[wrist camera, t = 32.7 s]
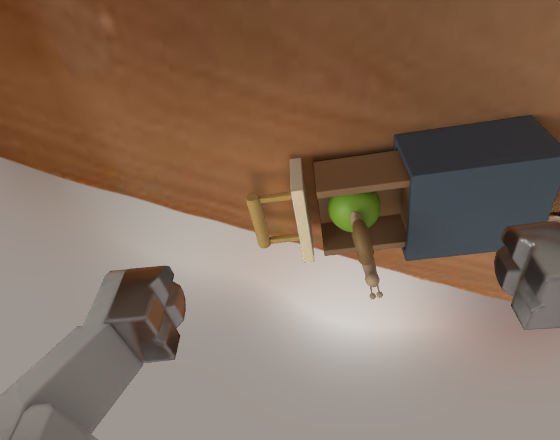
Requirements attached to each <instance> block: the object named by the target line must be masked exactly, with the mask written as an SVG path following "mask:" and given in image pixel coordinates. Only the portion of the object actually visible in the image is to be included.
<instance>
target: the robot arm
mask: <svg viewBox="0 0 560 440" xmlns="http://www.w3.org/2000/svg"><path fill="white" fill-rule="evenodd" d="M501 240H502V242H503V243H504V246H503V247H502V248H500V249H499V250H498V251H497V252H496V256H495V260H494V265H495V274H496V277H497V280H498V282H499V284H500V286H501V288H502V290H504V291H505V292H507V293H508V294H510V295H511V296H513V300H512V304H511V306H512V308H513V310H514V312H515V314H516V316H517V318H518V319H519V321H520V323H521V325H522V327H523V329H524V330H531V329H549V328H560V220H555V221H546V222H538V223H530V224H522V225H514V226H507V227H506V228H505V229H504V230H503V233H502V236H501ZM173 277H174V273H173V272H172V270H171V268H170V267H169V266H157V267H146V268H136V269H135V268H134V269H127V270H116V271H110V272H109V273H108V274H107V275H106V276H105V278H104V280H103V282H102V284H101V286H100V289H99V291H98V293H97V295H96V298H95V300H94V302H93V304H92V307H91V309H90V311H89V313H88V315H87V318H86V320H85V322H84V324H83V326H78V327H76V328H75V329H74V330H73V331H72V332H71V333H70V334H68V335H67V336H66V337H65V338H64V339H63V340H62V341H61V342H59V343H58V344H57V345H56V346H55V347H54V348H53V349H52V350H51V351H49V352H48V353H47V354H46V355H45V356H44V357H43V358H42V359H40V360H39V361H38V362H37V363H36V364H35V365H34V366H33V367H31V368H30V369H29V370H28V371H27V372H26V373H25V374H24V375H23V376H21V377H20V378H19V379H18V380H17V381H16V382H15V383H14V384H13V385H11V386H10V387H9V388H8V389H7V390H6V391H5V392H4V393H2V394H1V395H0V440H97V438H95V437H94V436H93V435H91V433H92V432H93V431H94V429H95V428H96V427H97V425H98V424H99V423H100V422H101V420H102V419H103V417H104V416H105V415H106V413H107V412H108V411H109V410H110V408H111V407H112V406H113V404H114V403H115V402H116V400H117V399H118V398H119V396H120V395H121V394H122V392H123V391H124V390H125V388H126V387H127V386H128V385H129V383H130V382H131V381H132V379H133V378H134V377H135V375H136V374H137V373H138V371H139V370H140V369H141V367H142V366H143V364H142V363H150V362H158V361H167V360H175V356H176V352H177V348H178V343H179V339H180V335H179V333H178V331H177V329H176V328H177V327H178V326H179V325H180V324H181V323H182V322H183V320H184V315H185V297H184V293H183V290H182V288H181V286H180V285H178V284H176V283H175V282H173Z"/></svg>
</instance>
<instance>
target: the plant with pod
mask: <svg viewBox="0 0 560 440" xmlns="http://www.w3.org/2000/svg"><path fill="white" fill-rule="evenodd" d="M555 220H560V217H558V216H553V215H551V216H549V217H548V219H547V221H555Z"/></svg>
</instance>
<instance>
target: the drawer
mask: <svg viewBox="0 0 560 440" xmlns="http://www.w3.org/2000/svg"><path fill="white" fill-rule="evenodd" d="M313 167H314V176H315V185H316V194H317V199H318V206H319V213H320V221H321V229H322V238H323V247H324V254H325V256H327V255H336V254H345V253H354V252H357V251H356V248H355V245H354V241H353V238H352V232H347V231H344V230H342V229H340V228H339V227H338V226H336V225H335V224H334V222H333V221H332V220H331V218H330V215H329V212H328V201H329V198H330V197H335V196H343V195H350V194H358V193H366V192H374V191H376V192H377V193H378V195H379V198H380V202H381V211H380V215H379V217H378V219H377V221H376V222H375V223H374V224H373V225H372V226H371V227H370V228H368V230H369V233H370V237H371V240H372V244H373V250H381V249H390V248H399V247H405V244H406V230H407V216H408V202H409V188H410V176H409V174H408V172H407V169H406V167H405V165H404V162H403V160H402V158H401V155H400V153H399V151H398V150H397V151H390V152H382V153H375V154H368V155H361V156H354V157H346V158H339V159H332V160H325V161H318V162H313ZM290 185H291V192H286V193H278V194H270V195H263V196H259V195H258V194H257V193H251V194H249V195H247V196H246V202H247V205H248V209H249V212H250V216H251V219H252V223H253V226H254V229H255V233H256V236H257V239H258V243H259V246H260V247H261V248H267V247H269V246H270V245H271V244H273V243H281V242H290V241H299V240H300V244H301V249H302V255H303V260H304V263H306V262H314V251H313V239H312V228H311V221H310V214H309V208H308V201H307V195H306V188H305V182H304V175H303V169H302V162H301V158H296V159H290ZM284 200H292V202H293V207H294V212H295V218H296V223H297V228H298V234H290V235H282V236H273V237H269V233H268V229H267V225H266V221H265V217H264V214H263V210H262V206H261V203H269V202H276V201H284Z"/></svg>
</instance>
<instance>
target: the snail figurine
mask: <svg viewBox="0 0 560 440" xmlns="http://www.w3.org/2000/svg"><path fill="white" fill-rule="evenodd" d="M380 211H381V202H380V198H379V195H378V193H377V192H376V191H374V192H366V193H358V194H350V195H343V196H335V197H330V198H329V201H328V212H329V215H330V218H331V220H332V221H333V222H334V224H335V225H336V226H338V227H339V228H340V229H342V230H344V231H347V232H352V238H353V241H354V245H355V248H356V251H357V255H358V259H359V261H360V263H361V264H362V266H363V269H364V272H365V280H366V283H367V284H368V285H369V286H370V289H371V287H376V286H377V287H378V283H379V277H378V275H377V272H376V265H375V261H374V257H373V254H374V250H373V244H372V240H371V237H370V233H369V230H368V228H370V227H371V226H372V225H373V224H374V223H375V222H376V221H377V219H378V217H379V215H380ZM378 291H379V288H378ZM382 296H383V294H382V292H380V291H379V292H378V293H377V297H379V298H380V297H382ZM375 297H376V296H375V294H374V293H372V289H371V294H370V298H371V299H374V298H375Z"/></svg>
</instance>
